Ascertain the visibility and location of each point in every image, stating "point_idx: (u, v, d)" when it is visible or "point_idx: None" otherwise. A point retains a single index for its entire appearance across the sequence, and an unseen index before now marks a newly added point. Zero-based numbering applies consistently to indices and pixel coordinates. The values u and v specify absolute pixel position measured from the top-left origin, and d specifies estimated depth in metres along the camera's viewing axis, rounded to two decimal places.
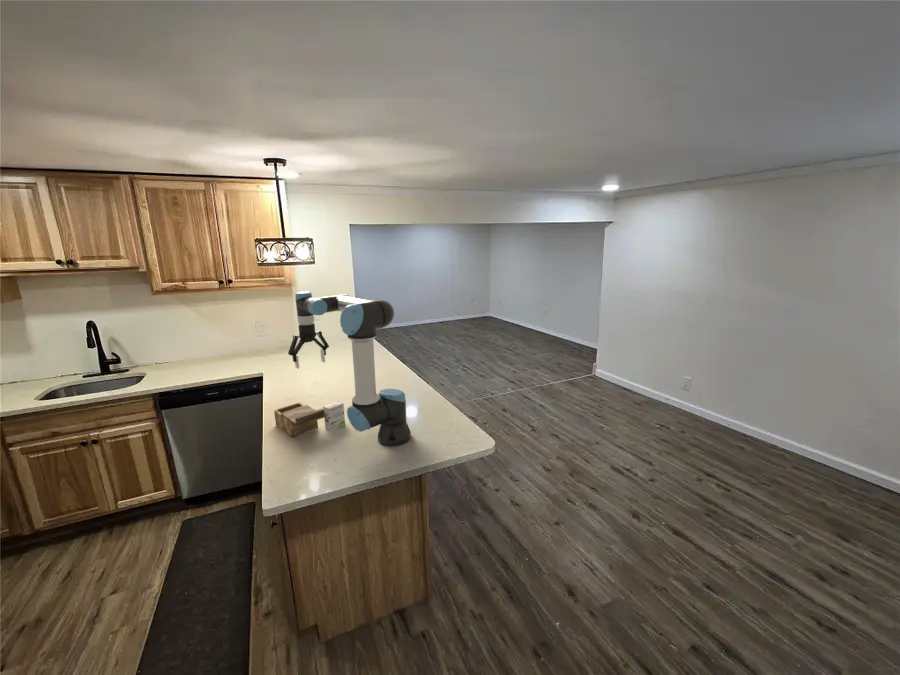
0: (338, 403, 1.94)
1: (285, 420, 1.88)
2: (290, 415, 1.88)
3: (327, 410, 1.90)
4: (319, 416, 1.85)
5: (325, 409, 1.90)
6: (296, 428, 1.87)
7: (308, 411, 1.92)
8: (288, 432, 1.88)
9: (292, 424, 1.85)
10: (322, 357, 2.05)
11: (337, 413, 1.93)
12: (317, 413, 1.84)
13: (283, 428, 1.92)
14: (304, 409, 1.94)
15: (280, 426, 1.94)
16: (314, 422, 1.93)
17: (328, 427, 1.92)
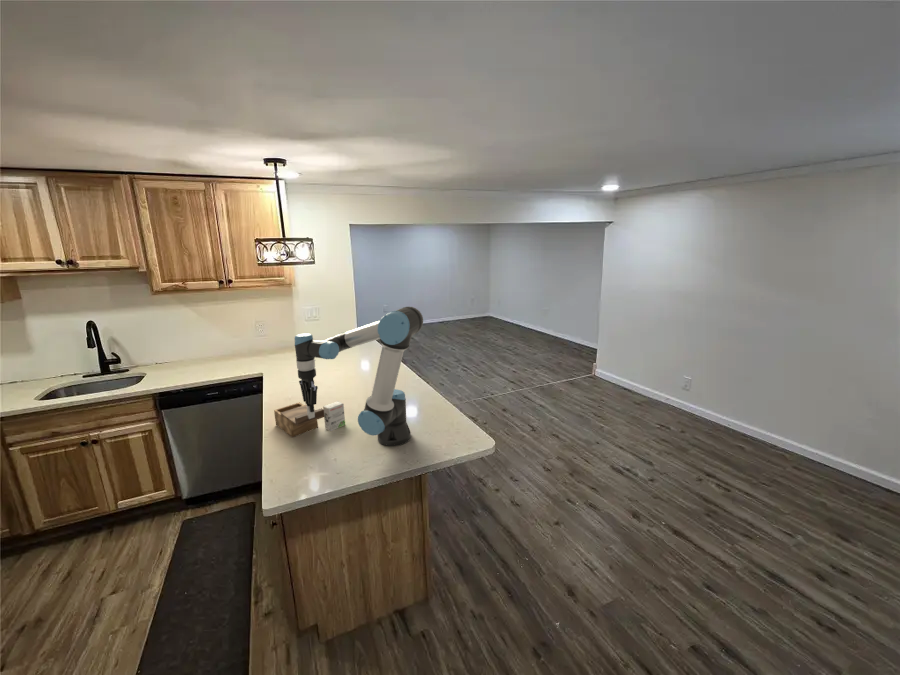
0: (338, 403, 1.94)
1: (285, 420, 1.88)
2: (290, 415, 1.88)
3: (327, 410, 1.90)
4: (319, 416, 1.86)
5: (325, 409, 1.90)
6: (296, 428, 1.87)
7: None
8: (288, 432, 1.88)
9: (292, 424, 1.85)
10: None
11: (337, 413, 1.93)
12: (317, 413, 1.85)
13: (283, 428, 1.92)
14: (304, 409, 1.94)
15: (280, 426, 1.94)
16: (314, 422, 1.93)
17: (328, 427, 1.92)
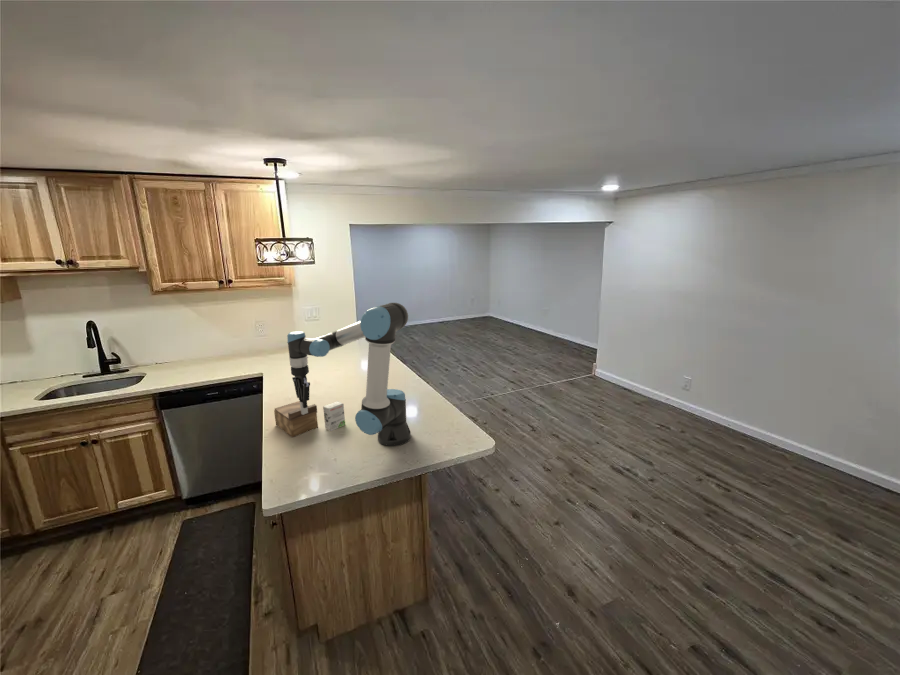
0: (338, 403, 1.94)
1: (285, 420, 1.88)
2: (283, 410, 1.93)
3: (327, 410, 1.90)
4: (312, 411, 1.90)
5: (325, 409, 1.90)
6: (296, 428, 1.87)
7: None
8: (288, 432, 1.88)
9: (292, 424, 1.85)
10: None
11: (337, 413, 1.93)
12: (310, 408, 1.89)
13: (283, 428, 1.92)
14: (297, 405, 1.99)
15: (280, 426, 1.94)
16: (314, 422, 1.93)
17: (328, 427, 1.92)
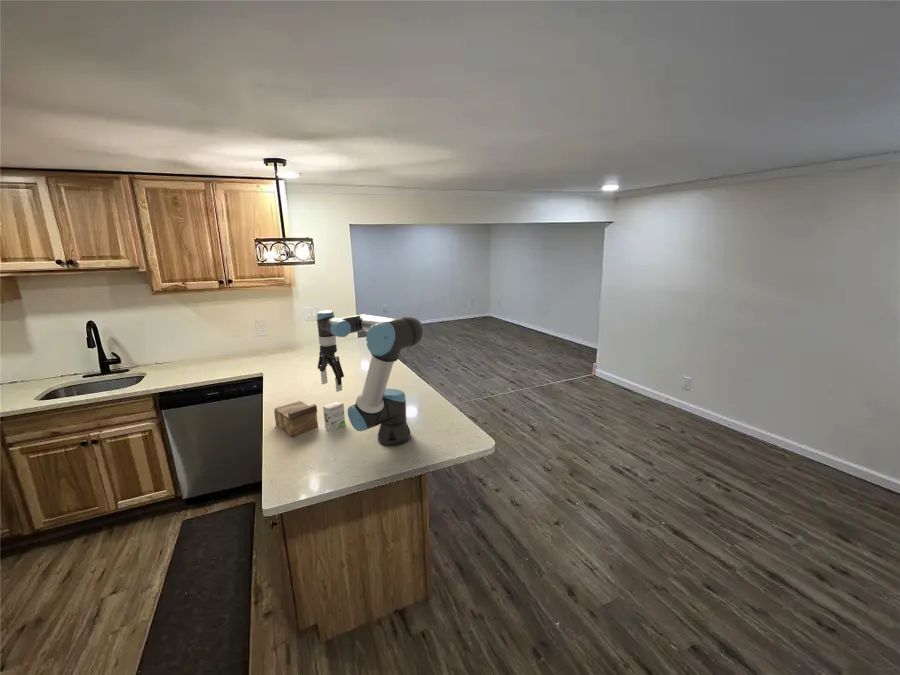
0: (338, 403, 1.94)
1: (285, 420, 1.88)
2: (283, 410, 1.93)
3: (327, 410, 1.90)
4: (312, 411, 1.90)
5: (325, 409, 1.90)
6: (296, 428, 1.87)
7: (301, 407, 1.97)
8: (288, 432, 1.88)
9: (292, 424, 1.85)
10: None
11: (337, 413, 1.93)
12: (310, 408, 1.89)
13: (283, 428, 1.92)
14: (297, 405, 1.99)
15: (280, 426, 1.94)
16: (314, 422, 1.93)
17: (328, 427, 1.92)
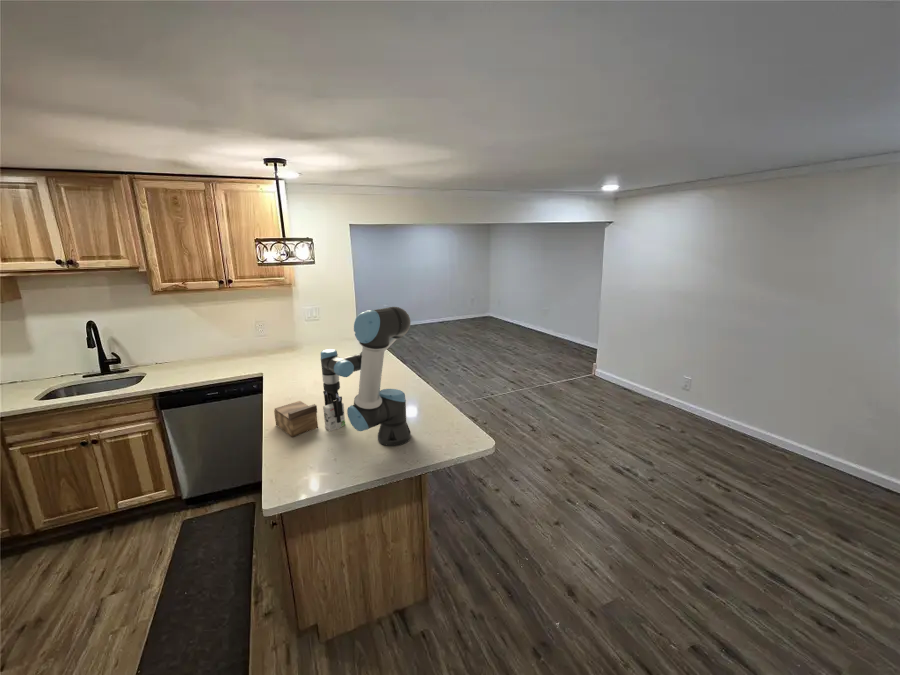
0: None
1: (285, 420, 1.88)
2: (283, 410, 1.93)
3: (327, 410, 1.90)
4: (312, 411, 1.90)
5: (325, 409, 1.90)
6: (296, 428, 1.87)
7: (301, 407, 1.97)
8: (288, 432, 1.88)
9: (292, 424, 1.85)
10: None
11: None
12: (310, 408, 1.89)
13: (283, 428, 1.92)
14: (297, 405, 1.99)
15: (280, 426, 1.94)
16: (314, 422, 1.93)
17: (328, 427, 1.92)
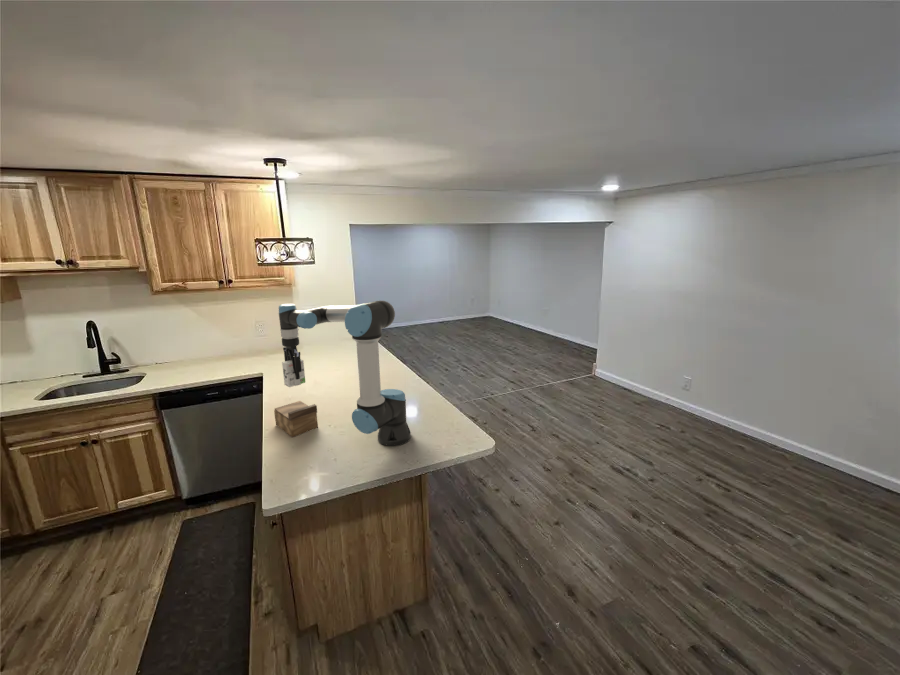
0: None
1: (285, 420, 1.88)
2: (283, 410, 1.93)
3: (285, 366, 1.87)
4: (312, 411, 1.90)
5: (284, 365, 1.88)
6: (296, 428, 1.87)
7: (301, 407, 1.97)
8: (288, 432, 1.88)
9: (292, 424, 1.85)
10: None
11: None
12: (310, 408, 1.89)
13: (283, 428, 1.92)
14: (297, 405, 1.99)
15: (280, 426, 1.94)
16: (314, 422, 1.93)
17: (287, 383, 1.89)
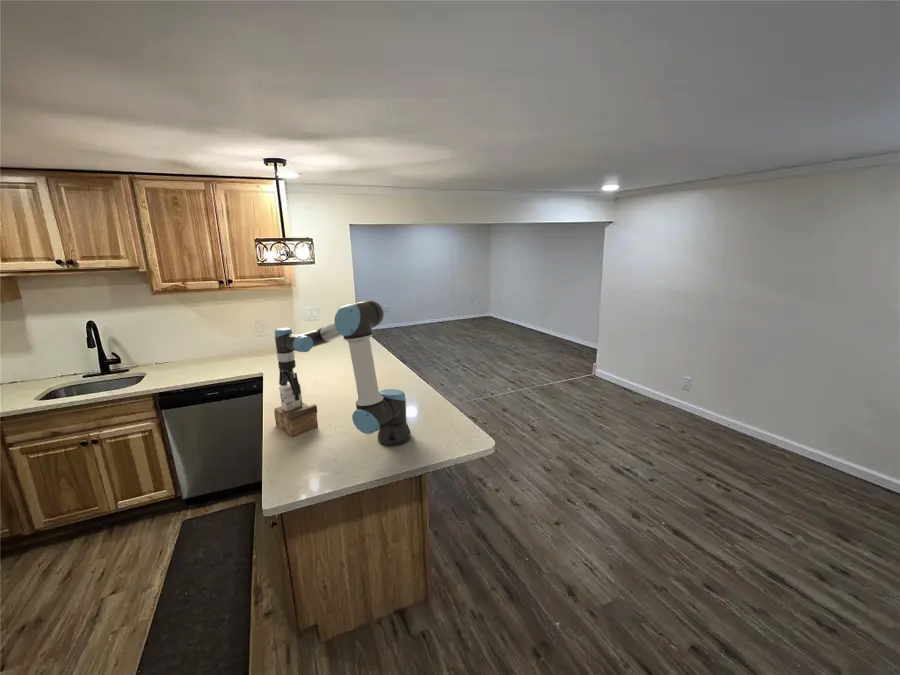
0: None
1: (285, 420, 1.88)
2: (284, 411, 1.93)
3: (282, 390, 1.90)
4: (312, 411, 1.90)
5: (281, 389, 1.91)
6: (296, 428, 1.87)
7: (301, 407, 1.97)
8: (288, 432, 1.88)
9: (292, 424, 1.85)
10: None
11: None
12: (310, 409, 1.89)
13: (283, 428, 1.92)
14: None
15: (280, 426, 1.94)
16: (314, 422, 1.93)
17: (284, 407, 1.92)
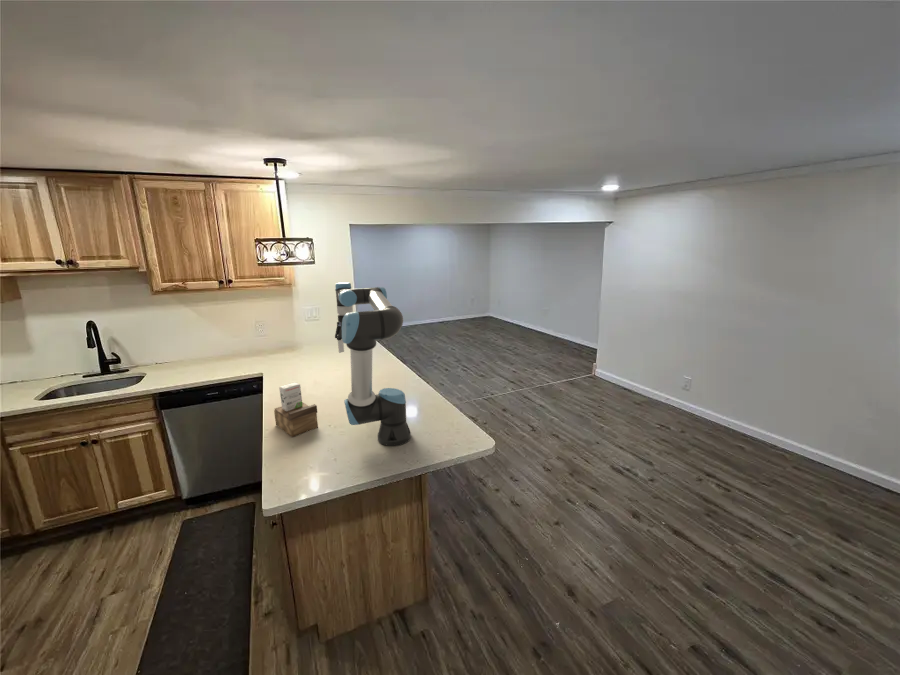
0: (295, 384, 1.94)
1: (285, 420, 1.88)
2: (284, 411, 1.93)
3: (282, 390, 1.90)
4: (312, 411, 1.90)
5: (281, 389, 1.91)
6: (296, 428, 1.87)
7: (301, 407, 1.97)
8: (288, 432, 1.88)
9: (292, 424, 1.85)
10: None
11: (294, 393, 1.93)
12: (310, 409, 1.89)
13: (283, 428, 1.92)
14: None
15: (280, 426, 1.94)
16: (314, 422, 1.93)
17: (284, 407, 1.92)
